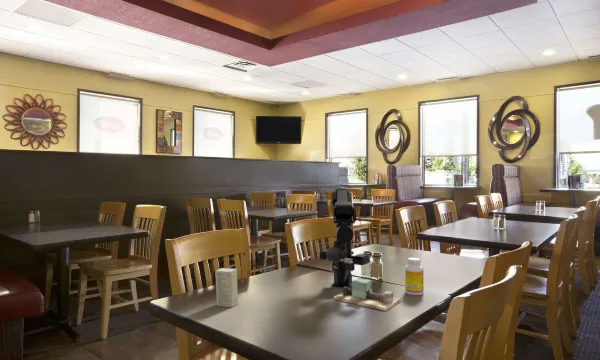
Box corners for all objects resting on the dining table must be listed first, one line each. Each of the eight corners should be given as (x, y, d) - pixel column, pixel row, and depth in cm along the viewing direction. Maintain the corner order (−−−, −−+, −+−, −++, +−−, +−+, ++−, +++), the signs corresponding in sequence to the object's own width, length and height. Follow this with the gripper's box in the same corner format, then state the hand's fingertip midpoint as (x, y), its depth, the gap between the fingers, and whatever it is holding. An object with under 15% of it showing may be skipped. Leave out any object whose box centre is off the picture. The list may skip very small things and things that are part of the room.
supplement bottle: (424, 296, 142) (424, 261, 142) (405, 295, 144) (405, 260, 143) (422, 291, 149) (422, 257, 149) (404, 290, 150) (404, 256, 150)
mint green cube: (351, 296, 139) (351, 281, 139) (359, 292, 143) (359, 278, 143) (364, 298, 136) (364, 283, 136) (371, 295, 140) (371, 280, 140)
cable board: (333, 299, 140) (333, 287, 140) (351, 291, 149) (351, 280, 149) (385, 310, 127) (385, 298, 127) (400, 301, 137) (400, 289, 137)
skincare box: (238, 303, 136) (237, 268, 135) (231, 307, 131) (231, 271, 131) (222, 301, 138) (221, 267, 138) (215, 306, 133) (215, 270, 133)
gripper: (310, 238, 143) (310, 281, 143) (354, 243, 132) (355, 290, 132) (327, 234, 152) (327, 274, 152) (370, 239, 140) (370, 282, 141)
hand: (344, 280), depth 144 cm, fingers closed
